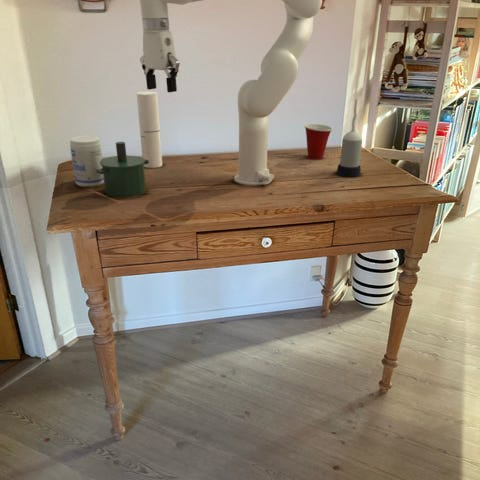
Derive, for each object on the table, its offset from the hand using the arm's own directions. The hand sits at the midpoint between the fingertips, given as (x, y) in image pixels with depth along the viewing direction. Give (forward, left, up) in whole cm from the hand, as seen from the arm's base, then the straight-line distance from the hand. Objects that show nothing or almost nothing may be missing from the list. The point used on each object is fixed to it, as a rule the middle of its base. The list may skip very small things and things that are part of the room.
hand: (161, 90), depth 159 cm
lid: (+4, +14, -20) cm, 25 cm away
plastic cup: (-12, -65, -30) cm, 72 cm away
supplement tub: (+20, +17, -30) cm, 39 cm away
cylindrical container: (+24, -12, -30) cm, 40 cm away
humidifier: (-34, -55, -30) cm, 71 cm away
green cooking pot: (+4, +14, -29) cm, 33 cm away
